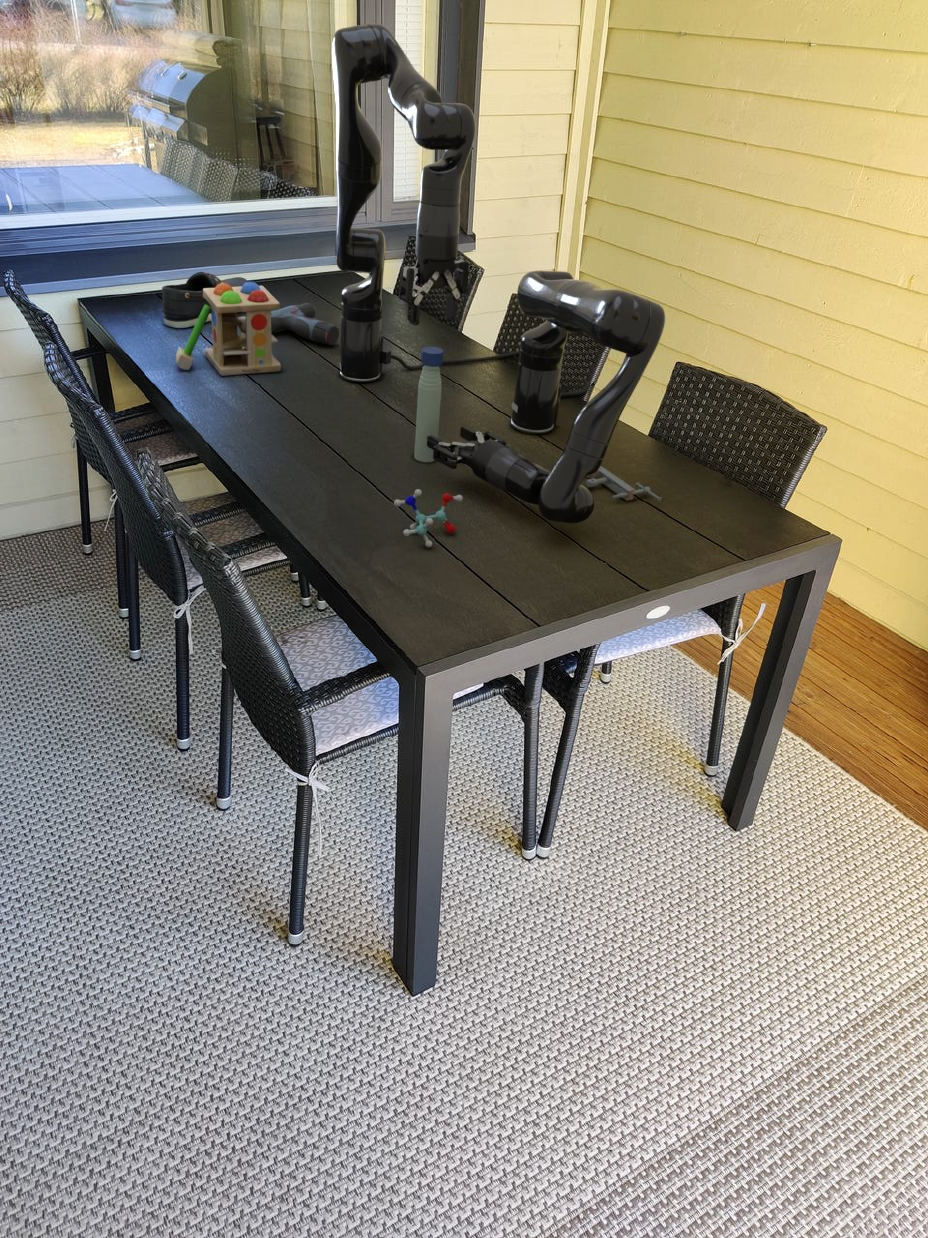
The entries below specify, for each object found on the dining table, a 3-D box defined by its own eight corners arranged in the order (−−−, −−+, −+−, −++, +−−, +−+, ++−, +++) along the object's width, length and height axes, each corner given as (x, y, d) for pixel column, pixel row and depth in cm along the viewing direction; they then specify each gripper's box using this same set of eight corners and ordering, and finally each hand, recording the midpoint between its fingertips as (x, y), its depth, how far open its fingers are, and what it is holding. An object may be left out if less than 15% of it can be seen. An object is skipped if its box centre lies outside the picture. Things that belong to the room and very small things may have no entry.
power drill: (365, 313, 253) (305, 296, 261) (318, 330, 240) (256, 311, 248) (364, 334, 256) (305, 316, 264) (318, 351, 243) (257, 332, 251)
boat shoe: (271, 306, 270) (269, 267, 265) (181, 330, 246) (177, 288, 241) (236, 297, 276) (233, 259, 271) (146, 320, 252) (141, 279, 247)
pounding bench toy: (183, 379, 220) (176, 299, 210) (169, 357, 231) (162, 280, 221) (282, 371, 230) (280, 294, 220) (264, 350, 240) (262, 276, 230)
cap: (417, 363, 186) (418, 350, 184) (426, 357, 189) (427, 344, 188) (437, 368, 185) (437, 355, 183) (445, 362, 188) (446, 349, 186)
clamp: (576, 469, 194) (616, 461, 198) (574, 479, 195) (614, 471, 199) (622, 503, 183) (664, 494, 188) (620, 513, 184) (661, 504, 189)
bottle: (410, 458, 197) (416, 352, 184) (420, 450, 200) (426, 346, 188) (430, 464, 195) (438, 357, 183) (440, 456, 199) (447, 351, 187)
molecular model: (452, 541, 163) (433, 483, 162) (403, 556, 167) (383, 500, 165) (474, 530, 174) (456, 475, 172) (427, 544, 177) (409, 492, 176)
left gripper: (455, 221, 179) (449, 310, 188) (392, 227, 171) (389, 320, 180) (482, 231, 175) (474, 321, 184) (418, 237, 167) (413, 332, 176)
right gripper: (531, 439, 183) (473, 410, 193) (475, 457, 175) (417, 425, 185) (526, 476, 188) (470, 445, 197) (471, 494, 179) (415, 461, 189)
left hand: (432, 320), depth 182 cm, fingers open, 8 cm apart
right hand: (445, 435), depth 191 cm, fingers open, 8 cm apart
